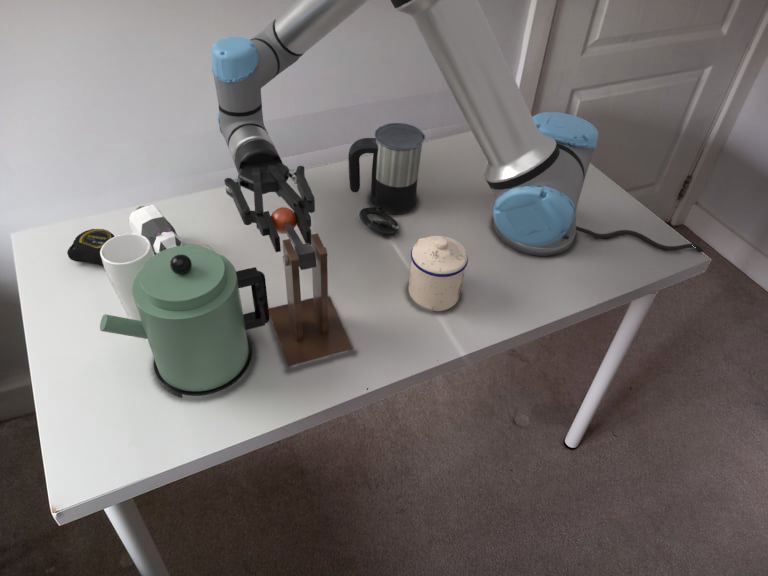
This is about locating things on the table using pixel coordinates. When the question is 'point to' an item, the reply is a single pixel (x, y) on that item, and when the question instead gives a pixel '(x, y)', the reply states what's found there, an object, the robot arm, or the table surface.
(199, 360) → the kettle
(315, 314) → the switch base
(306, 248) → the switch lever
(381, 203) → the milk frother
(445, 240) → the teacup with lid
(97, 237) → the tape measure
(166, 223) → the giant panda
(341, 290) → the table surface
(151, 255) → the drinking glass
